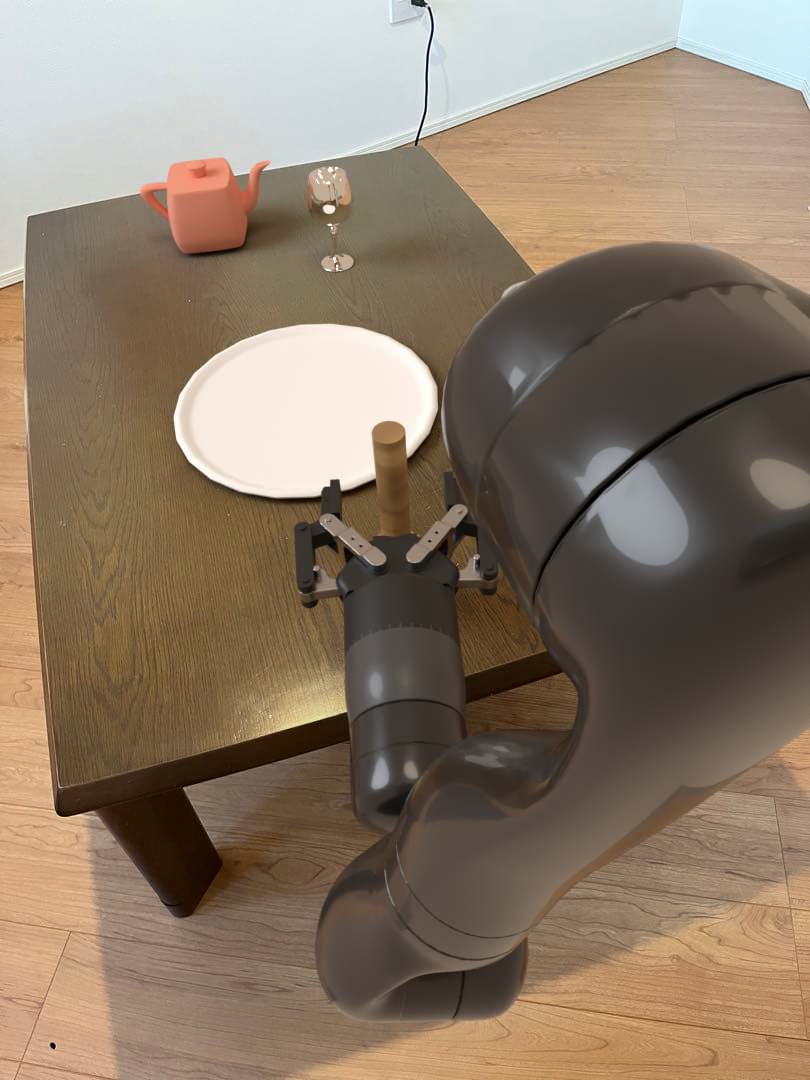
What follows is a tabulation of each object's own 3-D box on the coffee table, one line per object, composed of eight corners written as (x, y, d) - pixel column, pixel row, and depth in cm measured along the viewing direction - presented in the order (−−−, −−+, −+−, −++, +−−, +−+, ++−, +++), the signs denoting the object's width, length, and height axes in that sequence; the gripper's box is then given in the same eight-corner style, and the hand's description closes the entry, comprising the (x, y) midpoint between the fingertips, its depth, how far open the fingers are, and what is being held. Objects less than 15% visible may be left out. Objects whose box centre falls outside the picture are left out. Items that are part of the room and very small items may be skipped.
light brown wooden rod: (422, 592, 75) (414, 421, 59) (412, 618, 73) (402, 449, 57) (390, 585, 75) (374, 414, 60) (380, 611, 73) (361, 442, 58)
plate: (493, 419, 90) (493, 410, 89) (262, 550, 79) (260, 541, 78) (341, 302, 106) (340, 293, 105) (131, 398, 95) (127, 389, 94)
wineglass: (308, 270, 111) (296, 182, 102) (327, 248, 114) (316, 161, 105) (347, 277, 109) (338, 189, 100) (365, 255, 113) (358, 167, 103)
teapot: (155, 223, 121) (135, 151, 113) (279, 207, 122) (267, 135, 114) (153, 265, 113) (131, 191, 105) (285, 248, 115) (272, 174, 107)
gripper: (519, 622, 50) (486, 439, 60) (282, 639, 50) (291, 453, 60) (512, 686, 56) (483, 509, 66) (299, 702, 56) (304, 522, 66)
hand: (391, 482), depth 63 cm, fingers open, 8 cm apart
